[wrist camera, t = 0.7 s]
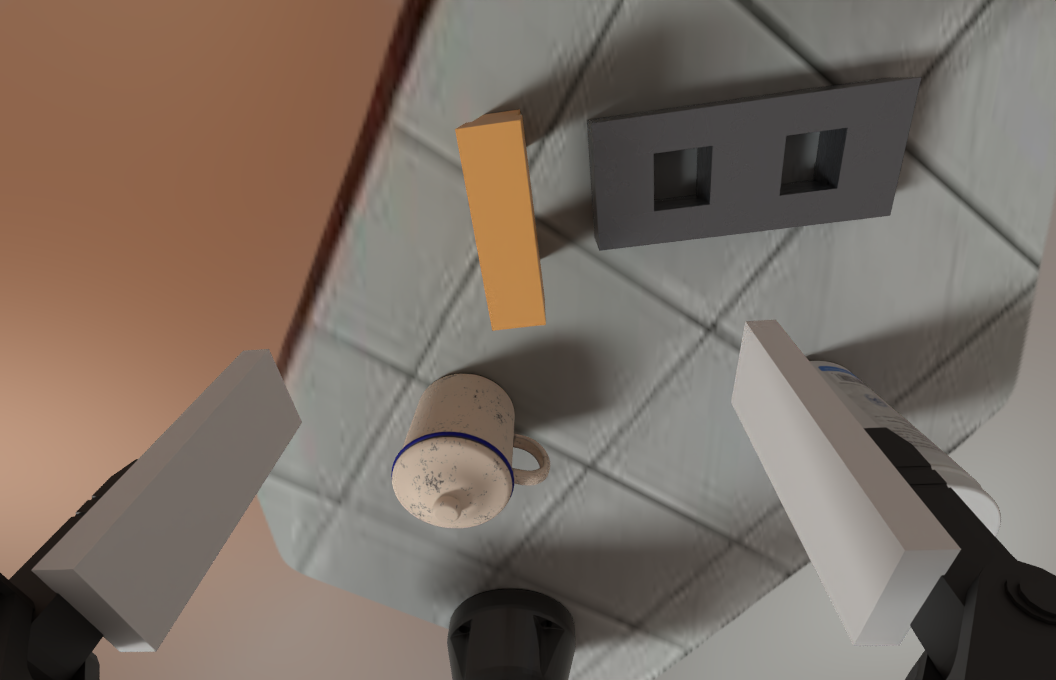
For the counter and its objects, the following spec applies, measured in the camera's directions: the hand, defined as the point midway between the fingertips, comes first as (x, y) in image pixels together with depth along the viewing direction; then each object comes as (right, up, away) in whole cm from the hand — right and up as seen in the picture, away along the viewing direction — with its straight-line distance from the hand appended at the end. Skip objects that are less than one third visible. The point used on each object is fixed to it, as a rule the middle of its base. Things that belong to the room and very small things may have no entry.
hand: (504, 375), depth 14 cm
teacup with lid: (-3, -6, +30) cm, 31 cm away
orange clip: (0, +11, +20) cm, 23 cm away
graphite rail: (+14, +13, +19) cm, 27 cm away
